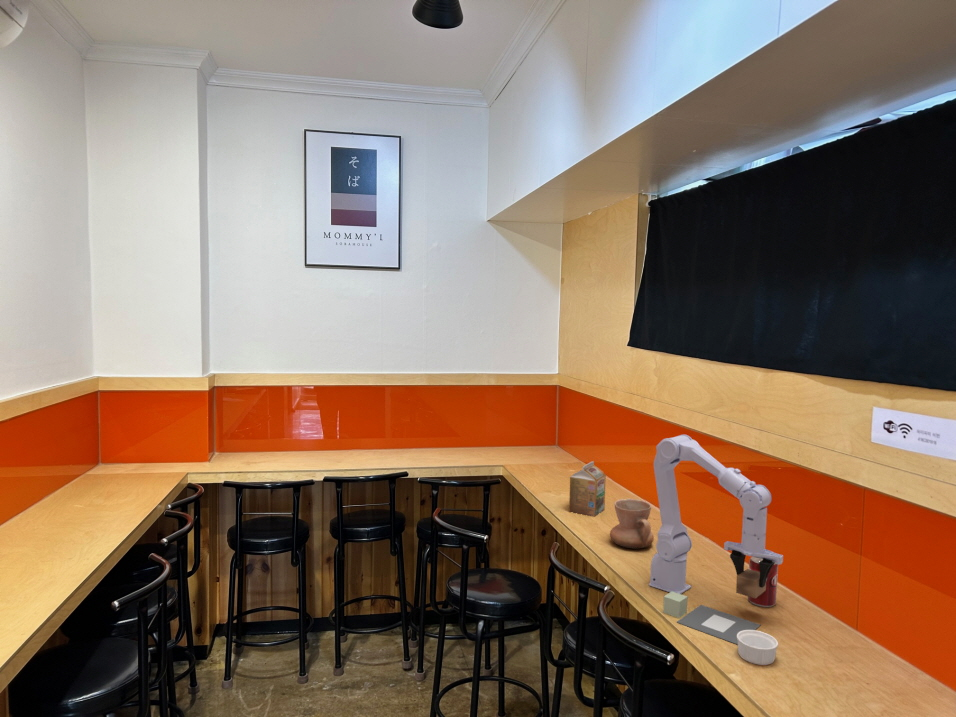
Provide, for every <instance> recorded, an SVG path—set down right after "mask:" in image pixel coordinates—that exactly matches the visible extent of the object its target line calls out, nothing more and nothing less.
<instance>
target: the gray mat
mask: <svg viewBox="0 0 956 717" xmlns="http://www.w3.org/2000/svg"><path fill="white" fill-rule="evenodd" d="M676 623H677V624H679V625H682V626H685V627H688V628H691V629H693V630H695V631H698V632H701V633H705V634H707V635H710V636H712V637H715V638H718V639H720V640H723V641H725V642H728V643H731V644H734V645H736V646H738V640H737V634H738V633H739V632H740V631H743V630H756V631H757V630H758V628H760V627H761V623H757V622H754V621H751V620H747V619H745V618H741V617H739V616H736V615H734V614H733V615H732V614H730V613H727V612H723V611H721V610H718V609H715V608H712V607H709V606H706V605H703V604H700V605H698V606H697V607H695V608H694V609H692V610H691V611H690V612H687V613H686V614H685V616H684V615H683V616H682V617H680V618H679V620H677V621H676Z"/></svg>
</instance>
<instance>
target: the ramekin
mask: <svg viewBox="0 0 956 717" xmlns="http://www.w3.org/2000/svg"><path fill="white" fill-rule="evenodd" d="M737 640H738V645H737V652H738V655H739V656H740V658H742V659H743V660H744V661H746V662H748V663H751V664H754V665H758V666H760V665H761V666H766V665H770V664H773V663H774V662H775V660H776V655H777V649H778V647H779V642H778V640H777V639H776V637H774V636H772V635H771V634H769V633H766V632H763V631H760V630H757V629H756V630H743V631H740V632H739V633H738V634H737Z"/></svg>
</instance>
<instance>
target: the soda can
mask: <svg viewBox="0 0 956 717" xmlns="http://www.w3.org/2000/svg"><path fill="white" fill-rule="evenodd" d="M762 560H763V559H761V558H757V557H753V556H750V557H749V563H748V569H750V570H754V571H758V572H760V567H759V562H760V561H762ZM778 571H779V564H776V563H775V564H774V565H773V567H772V568H771V570H770V572H769V574H768V576H767V579H766V590H765V591H764V592H763V593H762V594H761V595H759V596H758V597H757V598H752V597H749V596H747V601H749V603H751V604H753V605H754V606H757V607H762V608H771V607H774V606H775V605H776V604H777V592H778V577H779V576H778V575H779V574H778V573H779V572H778Z"/></svg>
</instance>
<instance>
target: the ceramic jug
mask: <svg viewBox="0 0 956 717" xmlns="http://www.w3.org/2000/svg"><path fill="white" fill-rule="evenodd" d="M651 510H652V504H650V502H647V501H646V500H645V501H644V500H641V499H635V498H625V499H624V498H622V499H621V498H620V499H618V500H616V501H615V502H614V511H615V514H616V517H617V520H618V522H619V524H616V525H615V526H613V528H611V529H610V531H609V532H610V533H609V537H610V539H611V541H612V542H614V543H615V544H617V545H618V546H620V547H623V548H627V549H644V548H647V547H649V546H651V545H652V544H653V542H654V539H655V538H654V537H655V536H654V534H653V532H652V526H651V524H650V522H649V521H648V519H649V517H650V513H651Z"/></svg>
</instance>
